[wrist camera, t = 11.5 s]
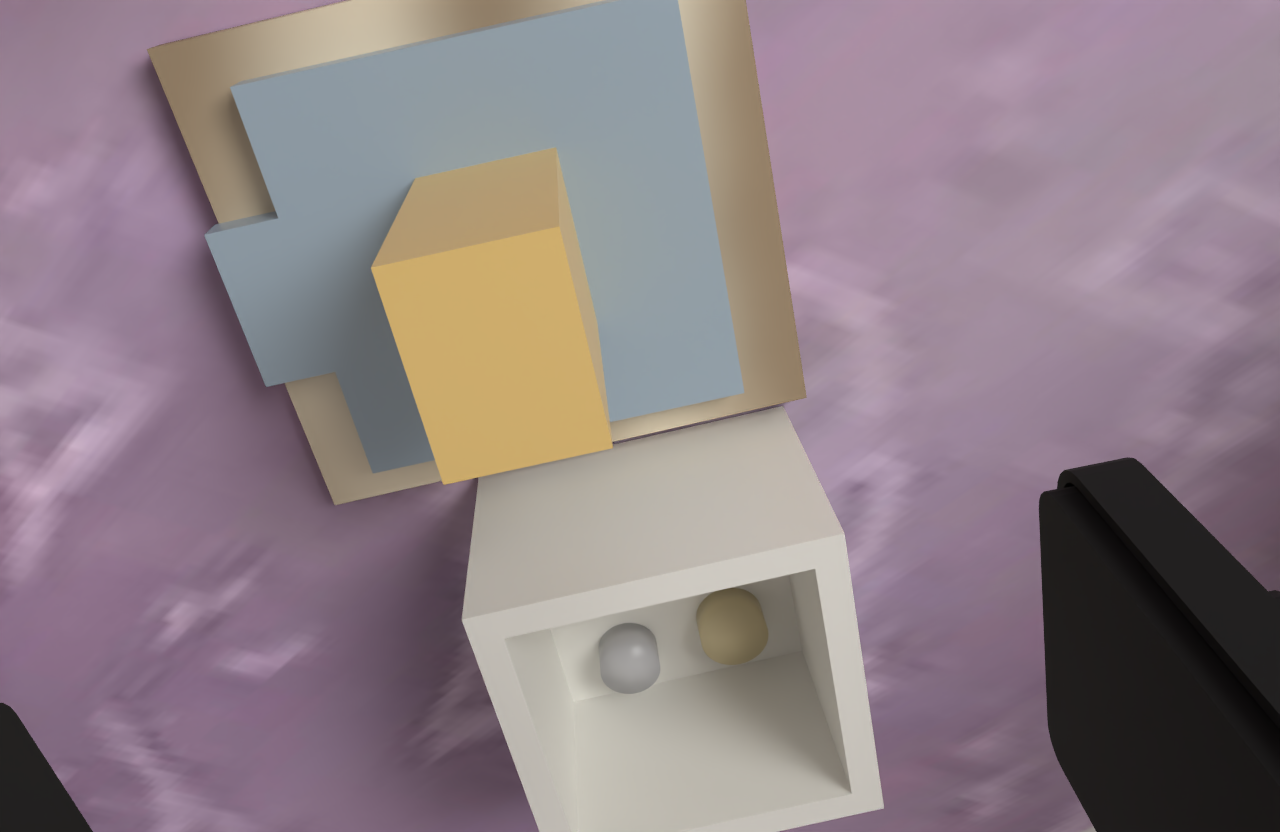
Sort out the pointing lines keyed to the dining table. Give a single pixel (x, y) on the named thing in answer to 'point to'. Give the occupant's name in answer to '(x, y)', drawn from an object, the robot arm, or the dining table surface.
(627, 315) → the lid
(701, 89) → the board
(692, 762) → the tub
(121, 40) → the dining table surface
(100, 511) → the dining table surface
